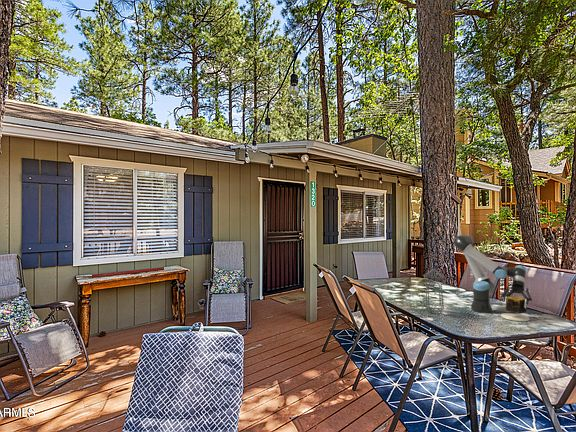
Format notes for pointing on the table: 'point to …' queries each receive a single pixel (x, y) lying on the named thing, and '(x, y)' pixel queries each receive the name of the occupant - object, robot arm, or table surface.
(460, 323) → the table surface
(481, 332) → the table surface
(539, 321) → the table surface
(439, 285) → the geometric lantern
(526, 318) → the saucer
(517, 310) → the mossy brown cube
